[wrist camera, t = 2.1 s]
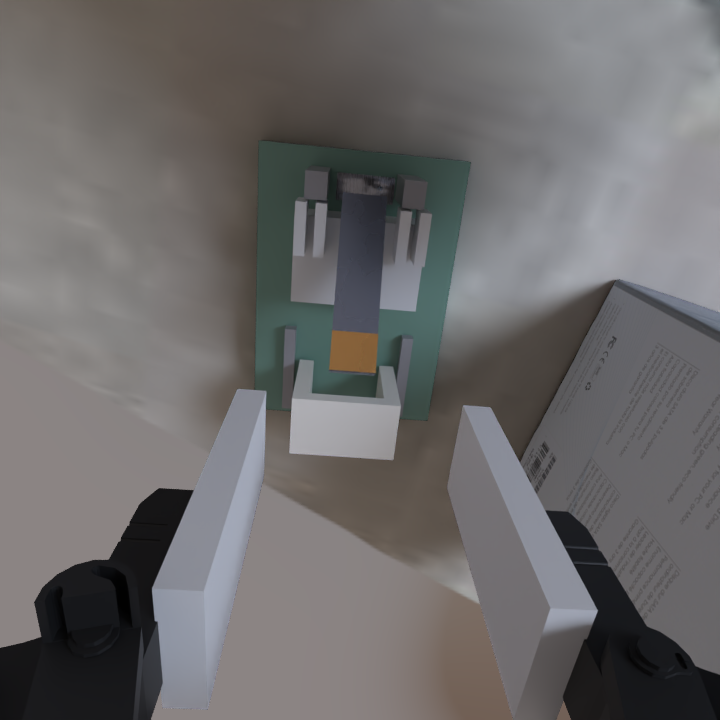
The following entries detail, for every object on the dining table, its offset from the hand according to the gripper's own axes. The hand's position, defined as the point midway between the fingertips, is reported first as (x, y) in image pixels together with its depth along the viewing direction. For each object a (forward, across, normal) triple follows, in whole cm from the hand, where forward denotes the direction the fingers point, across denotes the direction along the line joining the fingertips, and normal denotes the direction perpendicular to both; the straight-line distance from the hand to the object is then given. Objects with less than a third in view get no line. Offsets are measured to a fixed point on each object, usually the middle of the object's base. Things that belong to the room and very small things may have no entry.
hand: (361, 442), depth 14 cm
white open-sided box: (+15, 0, -6) cm, 16 cm away
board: (+17, 0, 0) cm, 17 cm away
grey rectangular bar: (+11, 0, +2) cm, 11 cm away
